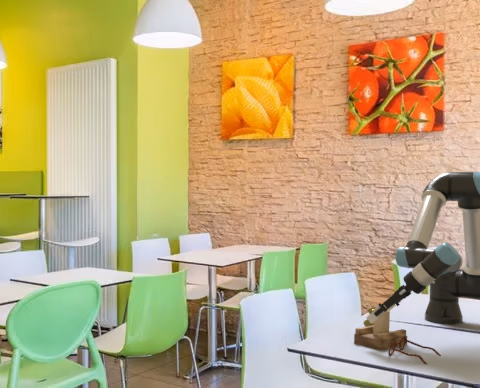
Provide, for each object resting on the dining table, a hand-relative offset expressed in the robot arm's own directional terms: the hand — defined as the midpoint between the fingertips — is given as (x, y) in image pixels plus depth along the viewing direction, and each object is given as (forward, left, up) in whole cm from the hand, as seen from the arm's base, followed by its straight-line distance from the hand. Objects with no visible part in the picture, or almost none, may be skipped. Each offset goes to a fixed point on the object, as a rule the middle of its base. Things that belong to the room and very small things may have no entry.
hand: (374, 317), depth 205 cm
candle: (-1, +2, -6) cm, 7 cm away
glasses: (+2, +19, -10) cm, 21 cm away
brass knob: (-10, -9, -9) cm, 16 cm away
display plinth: (-1, +2, -9) cm, 9 cm away
